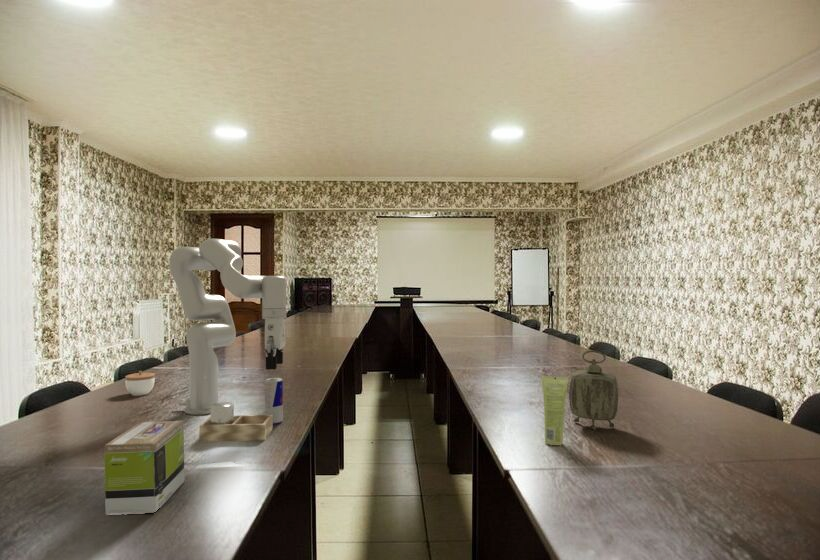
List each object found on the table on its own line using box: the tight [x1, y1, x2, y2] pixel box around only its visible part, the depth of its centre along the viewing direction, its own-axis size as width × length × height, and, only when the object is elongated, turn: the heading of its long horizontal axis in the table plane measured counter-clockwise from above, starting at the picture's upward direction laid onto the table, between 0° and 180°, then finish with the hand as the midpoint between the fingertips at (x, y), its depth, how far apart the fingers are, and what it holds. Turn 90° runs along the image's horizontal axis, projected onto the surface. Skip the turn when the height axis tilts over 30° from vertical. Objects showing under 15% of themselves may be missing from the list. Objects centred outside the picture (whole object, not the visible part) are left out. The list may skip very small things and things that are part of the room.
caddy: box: [198, 414, 274, 443], centre depth 137 cm, size 18×10×6 cm, turn 94°
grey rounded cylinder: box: [210, 401, 235, 425], centre depth 136 cm, size 6×6×9 cm
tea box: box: [103, 420, 186, 515], centre depth 99 cm, size 15×10×15 cm, turn 5°
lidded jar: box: [124, 370, 156, 397], centre depth 190 cm, size 11×11×9 cm
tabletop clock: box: [568, 349, 619, 430], centre depth 148 cm, size 14×9×25 cm, turn 65°
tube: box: [541, 375, 569, 446], centre depth 134 cm, size 6×5×20 cm
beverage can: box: [264, 377, 284, 426], centre depth 149 cm, size 6×6×15 cm
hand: (274, 366), depth 149 cm, fingers open, 9 cm apart
